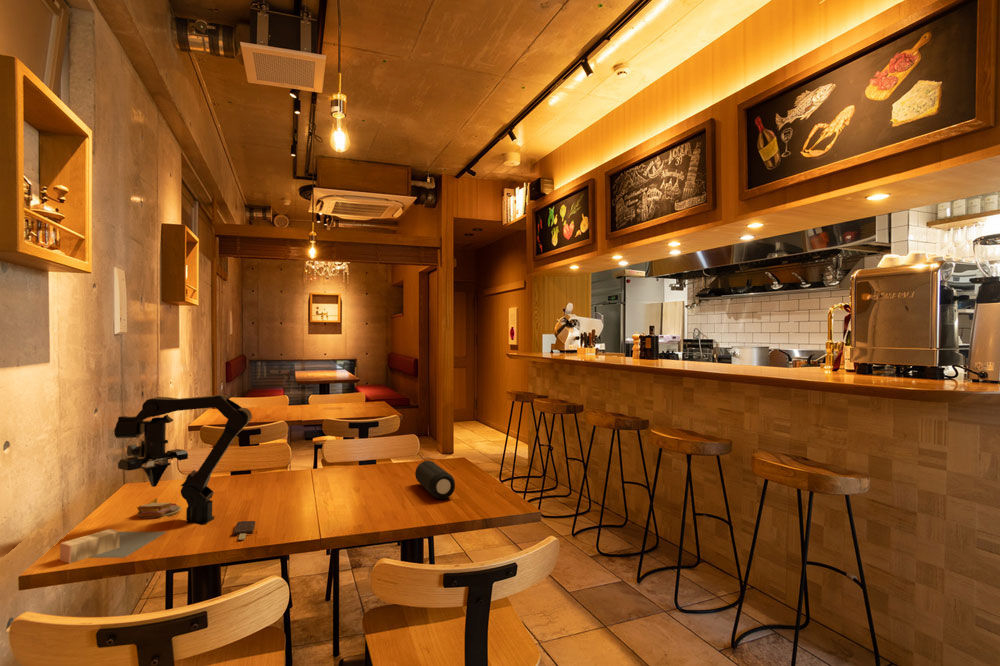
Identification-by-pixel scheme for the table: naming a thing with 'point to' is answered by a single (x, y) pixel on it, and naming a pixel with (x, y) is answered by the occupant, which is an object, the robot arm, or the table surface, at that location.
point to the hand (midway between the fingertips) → (153, 486)
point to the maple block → (89, 545)
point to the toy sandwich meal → (157, 509)
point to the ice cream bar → (244, 529)
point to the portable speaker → (435, 479)
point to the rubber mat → (130, 544)
